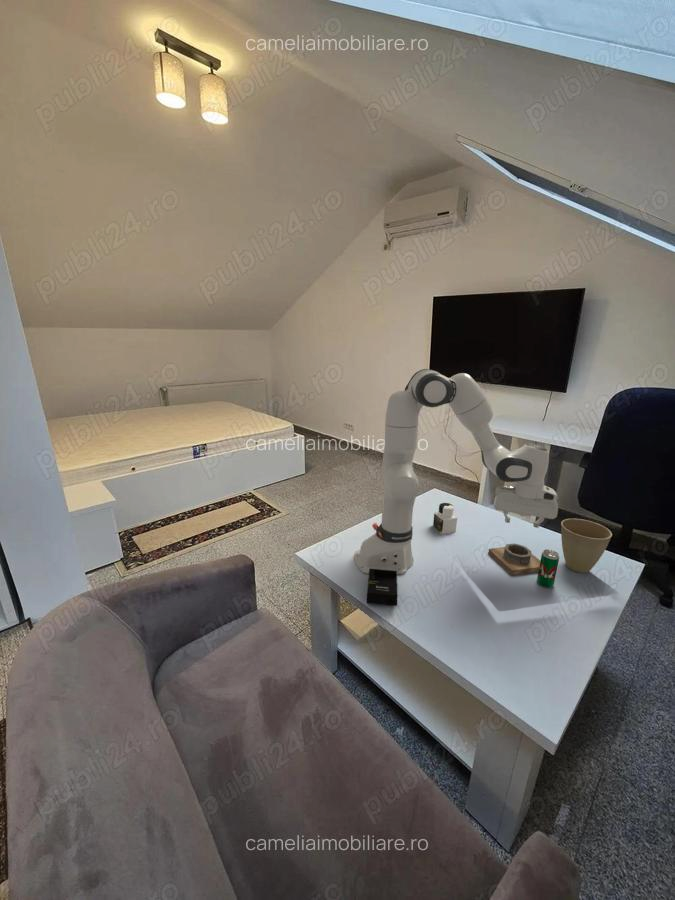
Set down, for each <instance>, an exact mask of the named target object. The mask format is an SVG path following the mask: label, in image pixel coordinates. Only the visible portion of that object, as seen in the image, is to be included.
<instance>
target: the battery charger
mask: <svg viewBox="0 0 675 900" xmlns="http://www.w3.org/2000/svg"><path fill="white" fill-rule="evenodd" d="M367 581H368V582H367V593H366V604H372V605H383V606H390V607H392V606H393V607H397V606H398V574H397V571H392V570H381V569H369V574H368V579H367Z"/></svg>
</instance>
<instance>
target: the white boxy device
mask: <svg viewBox="0 0 675 900" xmlns="http://www.w3.org/2000/svg"><path fill="white" fill-rule="evenodd" d="M454 510H455V507H454V505H453V504H451V503H448V502H441V503H440V504H438V512H434V514H433V522H432V526H433V528H434V529H435V530H436V531H437V532H438V533H440V534H441V535H447V534H452V533H456V532H457V531H456V530H457V523H458V517H457V516H456V515H454Z"/></svg>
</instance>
